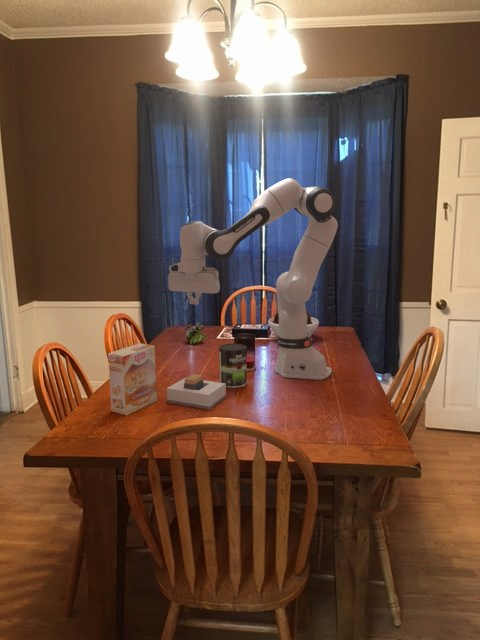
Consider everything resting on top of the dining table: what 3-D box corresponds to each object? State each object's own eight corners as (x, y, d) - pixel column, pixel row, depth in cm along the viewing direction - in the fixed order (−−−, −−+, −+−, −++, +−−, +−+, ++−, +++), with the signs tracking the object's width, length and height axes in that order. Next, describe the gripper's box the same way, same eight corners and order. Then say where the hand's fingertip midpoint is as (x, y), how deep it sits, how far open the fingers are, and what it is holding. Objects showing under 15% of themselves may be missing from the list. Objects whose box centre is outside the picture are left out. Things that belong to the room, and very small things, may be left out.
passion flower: (190, 352, 252) (189, 329, 257) (210, 348, 249) (210, 326, 254) (181, 344, 242) (181, 321, 247) (203, 340, 239) (202, 317, 244)
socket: (225, 397, 174) (225, 383, 173) (209, 409, 164) (208, 394, 162) (185, 391, 181) (185, 377, 180) (167, 402, 170) (166, 388, 169)
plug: (203, 394, 174) (202, 375, 172) (194, 400, 168) (194, 380, 167) (193, 393, 175) (192, 373, 174) (184, 398, 170) (183, 379, 169)
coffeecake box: (126, 415, 159) (122, 356, 155) (110, 411, 163) (106, 353, 159) (158, 400, 172) (155, 345, 168) (142, 397, 176) (139, 342, 171)
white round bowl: (322, 345, 240) (322, 314, 237) (269, 345, 241) (269, 314, 237) (315, 332, 265) (315, 304, 261) (267, 333, 265) (267, 305, 262)
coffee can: (252, 385, 186) (251, 348, 183) (226, 390, 181) (226, 352, 178) (239, 377, 195) (238, 341, 192) (214, 381, 190) (214, 345, 187)
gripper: (222, 266, 183) (223, 304, 186) (174, 264, 192) (175, 301, 195) (214, 268, 177) (215, 307, 180) (165, 266, 186) (166, 303, 189)
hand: (194, 304), depth 188 cm, fingers closed
